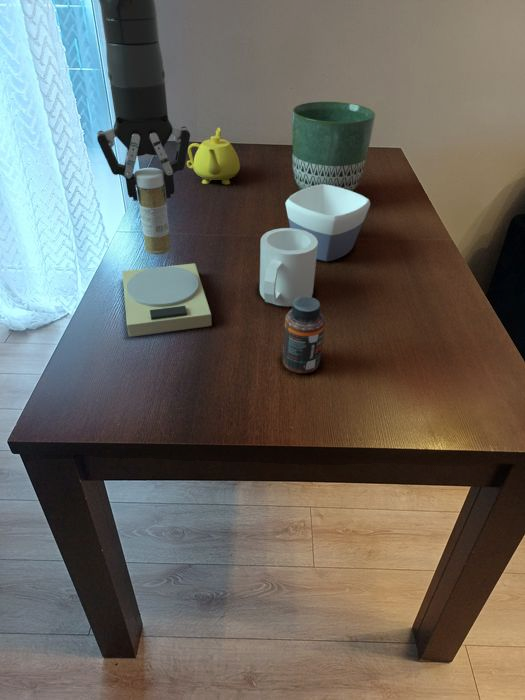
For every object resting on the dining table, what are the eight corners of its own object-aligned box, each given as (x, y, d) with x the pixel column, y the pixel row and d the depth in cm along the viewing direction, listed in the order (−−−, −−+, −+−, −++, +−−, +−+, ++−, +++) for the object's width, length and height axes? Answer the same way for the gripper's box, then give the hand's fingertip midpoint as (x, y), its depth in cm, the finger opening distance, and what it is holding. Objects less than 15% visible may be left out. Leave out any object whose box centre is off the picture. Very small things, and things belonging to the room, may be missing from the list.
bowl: (273, 247, 108) (275, 198, 101) (317, 226, 117) (321, 180, 110) (330, 273, 100) (336, 221, 93) (371, 248, 109) (380, 199, 102)
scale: (129, 337, 83) (126, 322, 81) (124, 282, 96) (121, 268, 94) (211, 325, 85) (210, 311, 84) (195, 274, 99) (194, 260, 97)
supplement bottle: (321, 376, 76) (328, 315, 69) (282, 375, 76) (286, 314, 69) (318, 351, 81) (325, 292, 73) (281, 350, 81) (285, 291, 73)
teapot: (192, 166, 148) (189, 125, 141) (242, 167, 148) (241, 126, 140) (182, 191, 132) (178, 147, 125) (237, 193, 132) (237, 148, 125)
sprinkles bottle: (166, 241, 88) (158, 165, 79) (174, 252, 85) (167, 174, 76) (141, 246, 86) (130, 168, 78) (148, 257, 83) (138, 178, 74)
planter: (362, 188, 137) (375, 104, 123) (361, 217, 122) (375, 125, 108) (292, 182, 139) (297, 99, 125) (283, 210, 124) (287, 119, 110)
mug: (297, 321, 87) (301, 268, 80) (244, 308, 90) (244, 255, 83) (319, 284, 97) (324, 234, 90) (270, 273, 100) (272, 224, 93)
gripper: (184, 72, 73) (192, 186, 84) (84, 75, 70) (105, 192, 81) (192, 83, 68) (199, 203, 78) (83, 86, 64) (106, 210, 75)
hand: (151, 197), depth 79 cm, fingers closed on sprinkles bottle, 4 cm apart
